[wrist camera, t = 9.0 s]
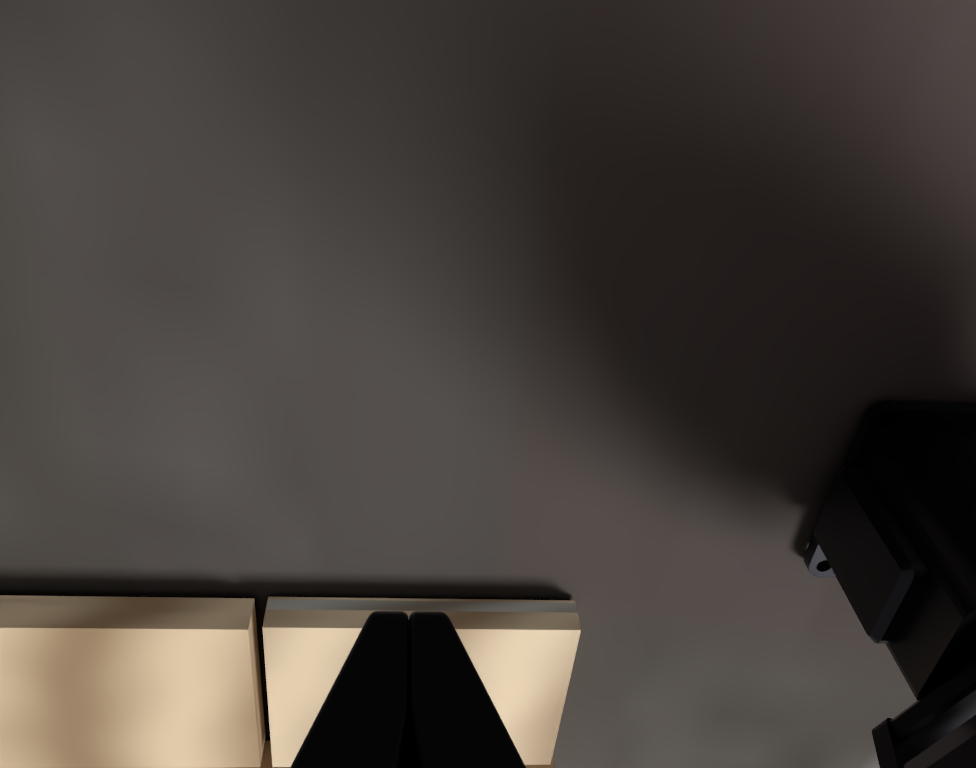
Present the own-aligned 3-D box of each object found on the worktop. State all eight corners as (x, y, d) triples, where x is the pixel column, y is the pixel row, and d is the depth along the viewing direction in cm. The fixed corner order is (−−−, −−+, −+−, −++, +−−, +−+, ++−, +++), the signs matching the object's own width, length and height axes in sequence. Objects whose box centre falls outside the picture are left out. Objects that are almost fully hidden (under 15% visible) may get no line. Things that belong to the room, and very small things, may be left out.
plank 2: (574, 600, 27) (581, 630, 26) (545, 734, 31) (550, 764, 30) (268, 596, 26) (262, 627, 25) (277, 735, 30) (272, 767, 29)
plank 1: (254, 598, 26) (248, 629, 25) (265, 735, 30) (260, 767, 29) (-81, 594, 25) (-101, 626, 24) (-25, 737, 29) (-40, 770, 28)
